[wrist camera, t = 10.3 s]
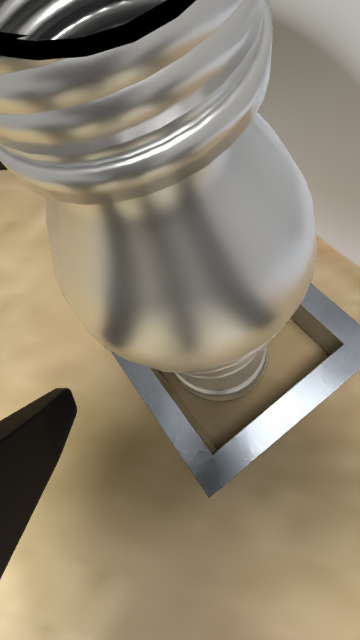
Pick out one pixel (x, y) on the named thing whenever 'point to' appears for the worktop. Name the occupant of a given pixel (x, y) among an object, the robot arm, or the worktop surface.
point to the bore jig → (223, 464)
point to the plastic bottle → (160, 178)
